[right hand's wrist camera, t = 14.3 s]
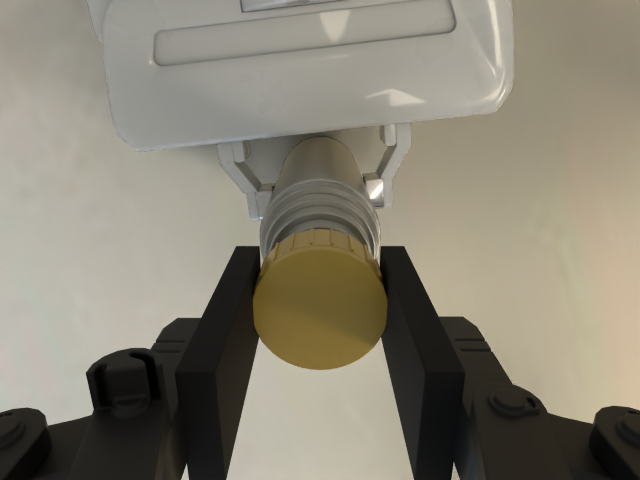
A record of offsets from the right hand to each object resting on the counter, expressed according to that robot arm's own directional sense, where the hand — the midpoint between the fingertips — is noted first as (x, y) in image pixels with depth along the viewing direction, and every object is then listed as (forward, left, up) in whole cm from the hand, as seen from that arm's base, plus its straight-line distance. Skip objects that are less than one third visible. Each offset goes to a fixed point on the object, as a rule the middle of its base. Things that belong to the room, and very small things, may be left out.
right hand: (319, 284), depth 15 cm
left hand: (-1, +1, -11) cm, 11 cm away
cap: (0, 0, +2) cm, 2 cm away
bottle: (0, 0, -18) cm, 18 cm away
